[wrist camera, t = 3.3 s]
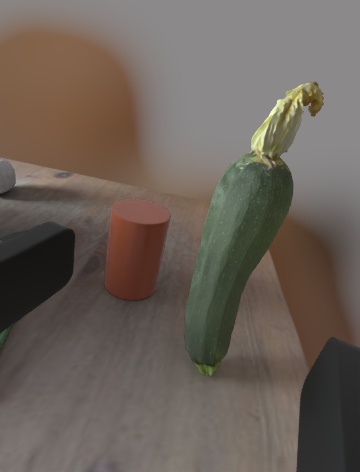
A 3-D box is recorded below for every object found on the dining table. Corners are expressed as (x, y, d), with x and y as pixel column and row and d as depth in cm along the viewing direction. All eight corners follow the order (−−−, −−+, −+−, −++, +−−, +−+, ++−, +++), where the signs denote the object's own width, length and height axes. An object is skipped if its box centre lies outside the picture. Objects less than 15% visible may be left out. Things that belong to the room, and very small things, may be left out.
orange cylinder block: (166, 284, 32) (181, 214, 28) (132, 308, 28) (145, 230, 24) (129, 262, 34) (138, 194, 30) (92, 281, 30) (98, 205, 26)
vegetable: (160, 359, 24) (231, 62, 14) (190, 329, 27) (263, 73, 18) (210, 395, 22) (328, 80, 13) (236, 358, 25) (343, 89, 16)
